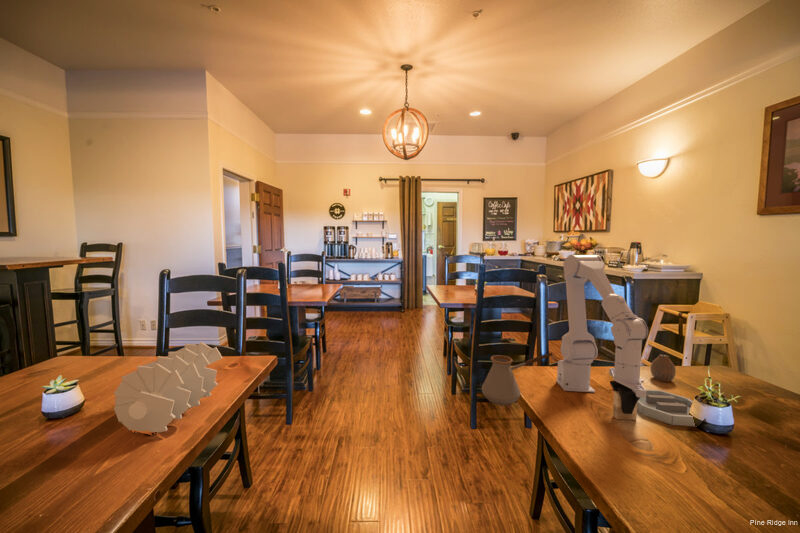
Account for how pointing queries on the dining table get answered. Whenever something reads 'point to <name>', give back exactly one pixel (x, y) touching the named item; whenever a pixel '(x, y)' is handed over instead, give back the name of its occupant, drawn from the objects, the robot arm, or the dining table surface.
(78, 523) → the dining table surface
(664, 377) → the vase
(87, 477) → the dining table surface
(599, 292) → the robot arm
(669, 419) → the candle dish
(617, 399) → the pine wood chunk
